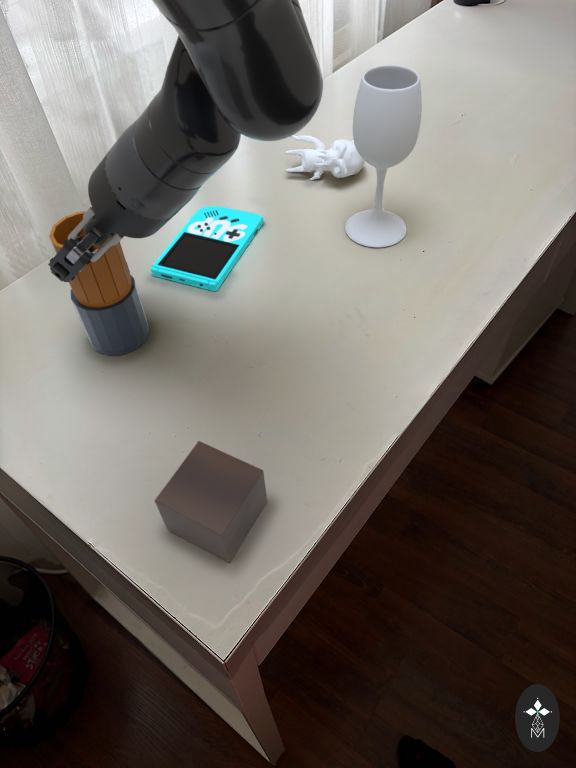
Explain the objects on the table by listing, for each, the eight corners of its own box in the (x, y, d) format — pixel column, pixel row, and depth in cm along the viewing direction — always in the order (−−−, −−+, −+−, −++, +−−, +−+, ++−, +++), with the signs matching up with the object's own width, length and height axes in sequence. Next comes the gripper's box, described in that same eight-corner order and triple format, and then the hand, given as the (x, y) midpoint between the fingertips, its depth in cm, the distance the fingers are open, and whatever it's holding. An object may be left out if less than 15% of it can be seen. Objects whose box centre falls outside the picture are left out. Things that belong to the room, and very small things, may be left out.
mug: (139, 358, 70) (123, 313, 64) (81, 353, 71) (60, 307, 65) (162, 300, 76) (150, 253, 70) (109, 295, 77) (92, 249, 71)
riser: (229, 563, 54) (221, 535, 49) (167, 530, 56) (154, 500, 51) (267, 501, 58) (263, 470, 53) (207, 473, 60) (198, 440, 55)
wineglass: (410, 215, 86) (434, 63, 69) (401, 252, 81) (423, 98, 64) (352, 207, 87) (361, 57, 71) (339, 243, 82) (345, 90, 66)
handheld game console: (265, 222, 86) (265, 214, 85) (217, 293, 77) (216, 285, 76) (204, 209, 88) (203, 201, 87) (150, 275, 79) (148, 268, 78)
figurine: (278, 123, 88) (355, 116, 84) (301, 127, 96) (373, 122, 91) (280, 181, 91) (355, 178, 86) (303, 181, 99) (372, 178, 94)
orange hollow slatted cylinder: (107, 314, 64) (85, 256, 58) (62, 296, 66) (36, 238, 60) (143, 279, 67) (125, 220, 61) (99, 263, 70) (78, 205, 63)
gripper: (158, 104, 54) (90, 191, 67) (63, 189, 46) (5, 270, 58) (217, 168, 57) (141, 240, 69) (136, 258, 49) (66, 322, 61)
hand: (79, 253), depth 64 cm, fingers closed on orange hollow slatted cylinder, 6 cm apart
